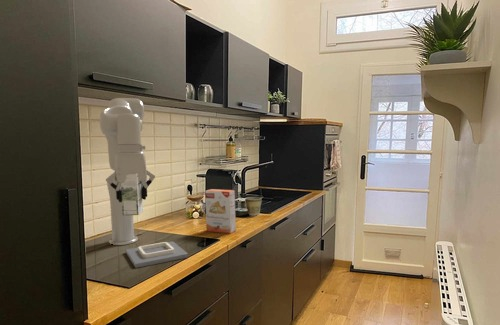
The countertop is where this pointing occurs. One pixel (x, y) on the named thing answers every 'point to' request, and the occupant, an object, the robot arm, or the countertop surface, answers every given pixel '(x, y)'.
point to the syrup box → (132, 195)
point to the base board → (155, 254)
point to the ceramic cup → (253, 205)
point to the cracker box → (220, 210)
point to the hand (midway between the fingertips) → (132, 200)
